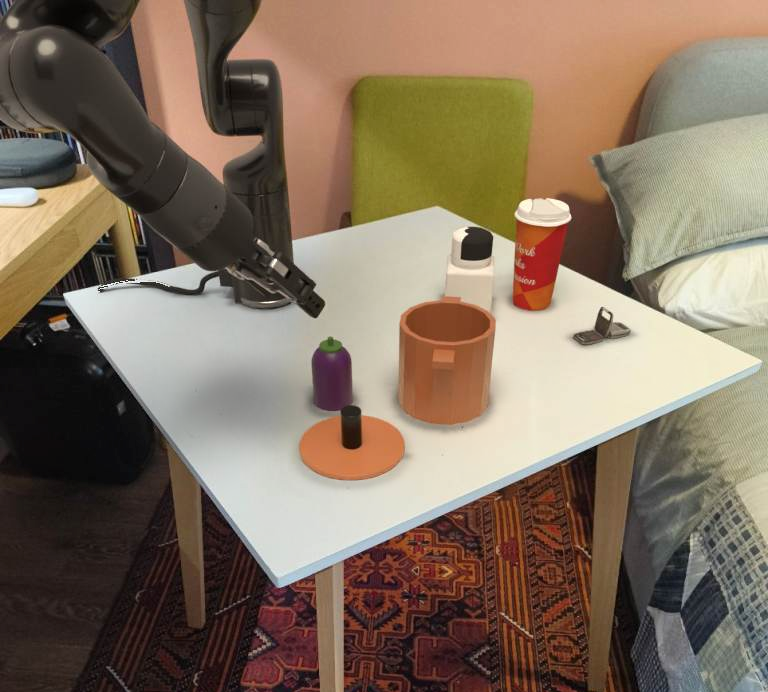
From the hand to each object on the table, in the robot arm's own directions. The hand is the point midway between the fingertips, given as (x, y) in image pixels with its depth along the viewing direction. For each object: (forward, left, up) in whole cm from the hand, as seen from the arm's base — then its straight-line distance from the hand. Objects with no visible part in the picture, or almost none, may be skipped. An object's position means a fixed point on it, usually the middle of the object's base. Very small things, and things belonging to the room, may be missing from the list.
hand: (295, 300), depth 86 cm
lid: (+7, -6, -15) cm, 18 cm away
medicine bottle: (+19, +34, -16) cm, 42 cm away
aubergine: (+3, +4, -16) cm, 17 cm away
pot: (+17, +6, -16) cm, 24 cm away
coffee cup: (+29, +37, -16) cm, 50 cm away
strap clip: (+39, +27, -16) cm, 50 cm away
